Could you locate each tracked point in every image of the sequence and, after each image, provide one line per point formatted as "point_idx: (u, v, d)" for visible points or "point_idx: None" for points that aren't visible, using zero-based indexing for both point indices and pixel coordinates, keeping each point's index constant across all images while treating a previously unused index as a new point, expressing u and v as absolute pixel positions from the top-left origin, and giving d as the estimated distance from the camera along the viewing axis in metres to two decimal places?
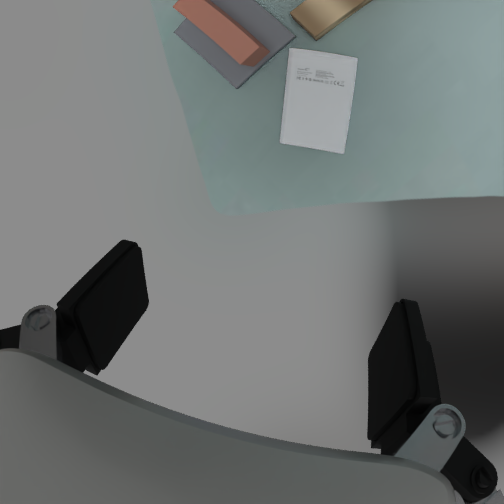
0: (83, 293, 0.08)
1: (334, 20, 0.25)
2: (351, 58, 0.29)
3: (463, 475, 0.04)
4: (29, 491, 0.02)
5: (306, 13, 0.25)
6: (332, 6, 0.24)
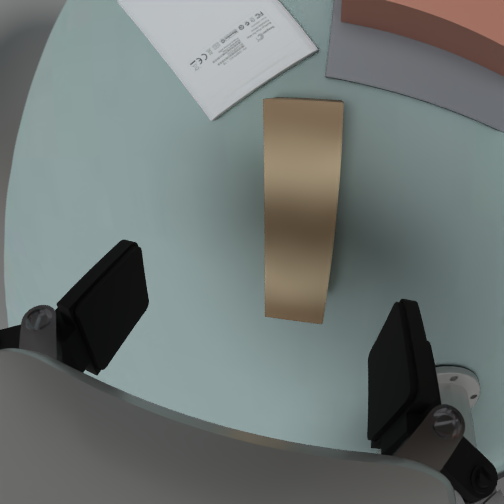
0: (82, 293, 0.08)
1: (266, 155, 0.16)
2: (216, 112, 0.18)
3: (463, 475, 0.04)
4: (29, 491, 0.02)
5: (316, 125, 0.14)
6: (292, 176, 0.16)
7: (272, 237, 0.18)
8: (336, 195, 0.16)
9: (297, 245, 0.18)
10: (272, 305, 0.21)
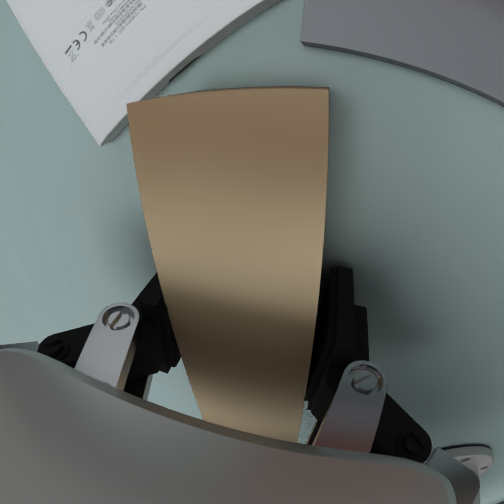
0: None
1: (152, 232, 0.07)
2: (104, 130, 0.09)
3: (387, 449, 0.06)
4: (29, 491, 0.02)
5: (256, 156, 0.06)
6: (212, 275, 0.07)
7: (195, 366, 0.09)
8: (312, 314, 0.07)
9: (241, 381, 0.09)
10: None
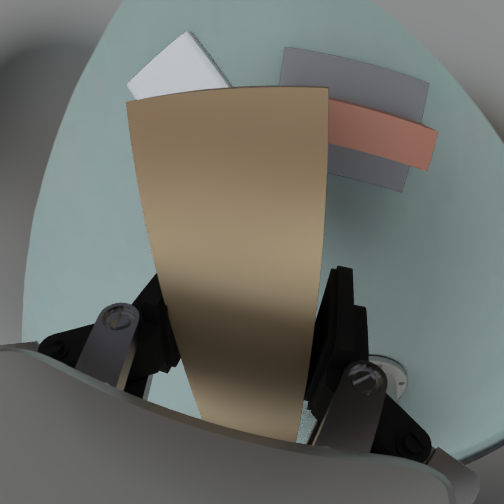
0: None
1: (151, 230, 0.07)
2: None
3: (386, 449, 0.06)
4: (29, 491, 0.02)
5: (255, 154, 0.06)
6: (212, 274, 0.07)
7: (194, 365, 0.09)
8: (311, 313, 0.07)
9: (240, 380, 0.09)
10: None
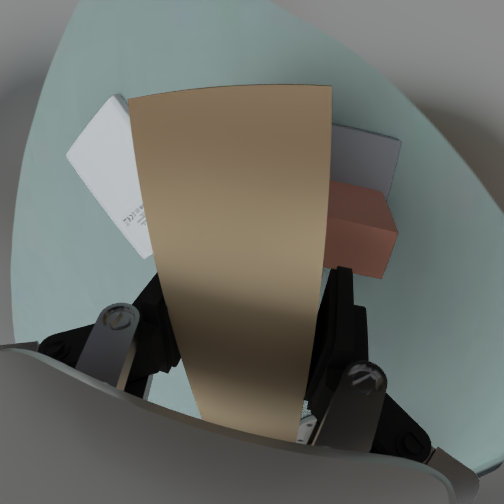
0: None
1: (152, 228, 0.07)
2: (145, 255, 0.27)
3: (386, 449, 0.06)
4: (29, 491, 0.02)
5: (258, 153, 0.05)
6: (213, 273, 0.07)
7: (195, 364, 0.09)
8: (313, 313, 0.07)
9: (240, 380, 0.09)
10: None
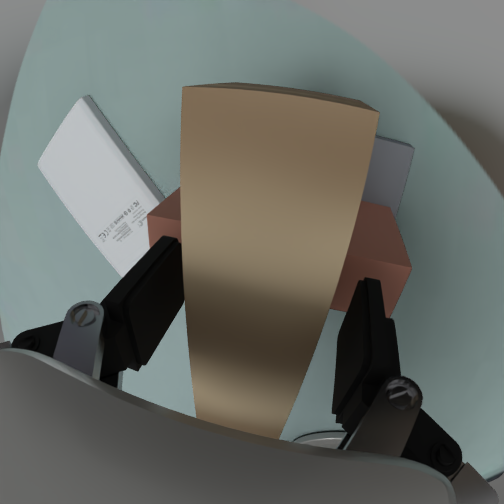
0: (131, 288, 0.08)
1: (186, 214, 0.07)
2: (124, 274, 0.24)
3: (421, 457, 0.05)
4: (29, 491, 0.02)
5: (304, 159, 0.06)
6: (238, 262, 0.08)
7: (200, 347, 0.10)
8: (325, 308, 0.08)
9: (243, 365, 0.10)
10: (206, 415, 0.13)
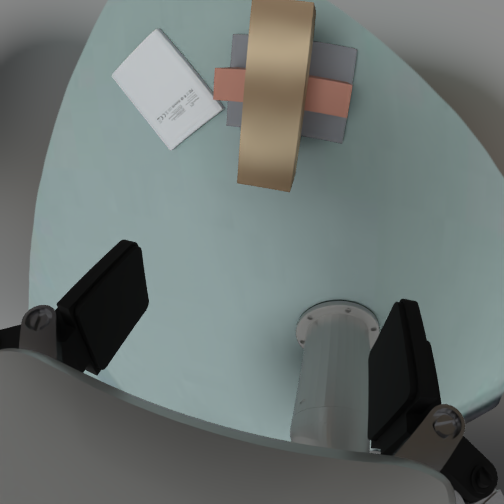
0: (82, 293, 0.08)
1: (250, 37, 0.17)
2: (172, 146, 0.33)
3: (463, 475, 0.05)
4: (29, 491, 0.02)
5: (291, 16, 0.15)
6: (270, 53, 0.17)
7: (249, 103, 0.19)
8: (305, 69, 0.17)
9: (270, 110, 0.19)
10: (244, 170, 0.22)
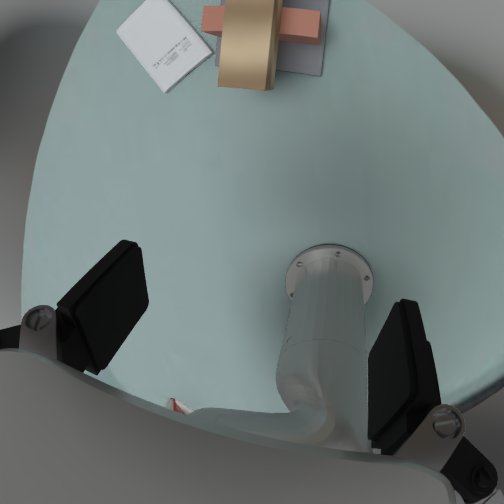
0: (82, 293, 0.08)
1: None
2: (166, 88, 0.33)
3: (463, 475, 0.05)
4: (29, 491, 0.02)
5: None
6: None
7: (228, 18, 0.20)
8: None
9: (246, 22, 0.20)
10: (224, 74, 0.22)
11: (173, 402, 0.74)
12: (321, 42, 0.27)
